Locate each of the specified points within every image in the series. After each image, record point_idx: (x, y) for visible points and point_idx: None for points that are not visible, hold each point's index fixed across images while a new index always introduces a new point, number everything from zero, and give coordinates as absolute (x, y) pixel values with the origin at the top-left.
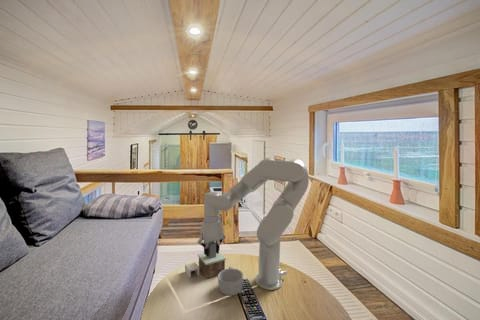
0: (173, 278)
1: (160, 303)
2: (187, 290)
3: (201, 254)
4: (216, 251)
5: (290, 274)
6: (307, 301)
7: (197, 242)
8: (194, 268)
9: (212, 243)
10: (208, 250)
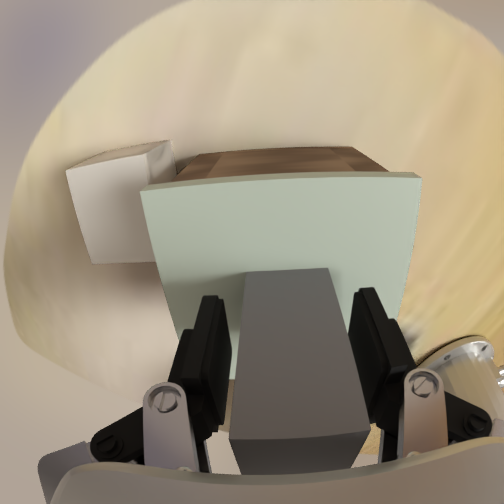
0: (46, 180)
1: (35, 321)
2: (112, 306)
3: (183, 213)
4: (352, 340)
5: None
6: None
7: (42, 460)
8: (127, 259)
9: (292, 473)
10: (224, 407)
